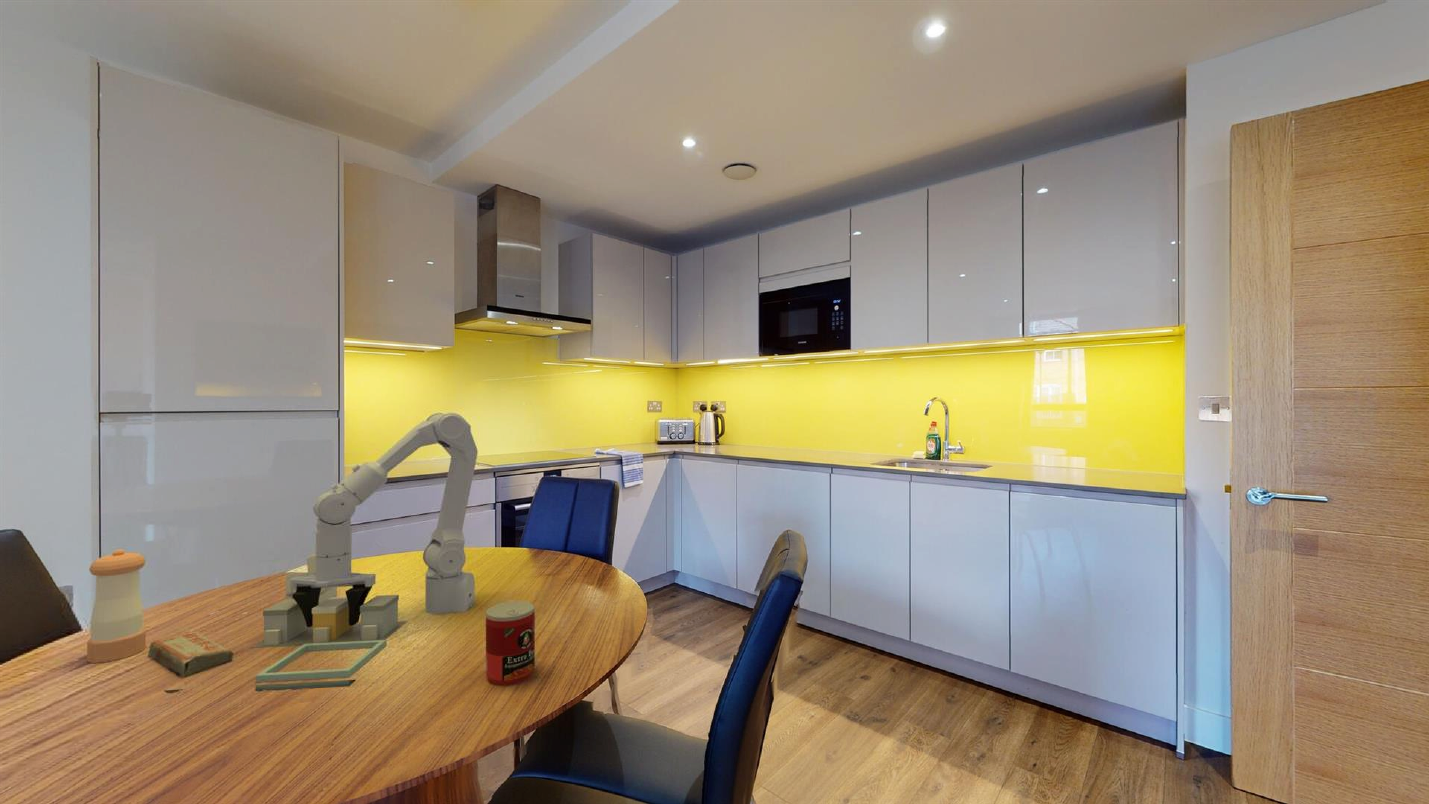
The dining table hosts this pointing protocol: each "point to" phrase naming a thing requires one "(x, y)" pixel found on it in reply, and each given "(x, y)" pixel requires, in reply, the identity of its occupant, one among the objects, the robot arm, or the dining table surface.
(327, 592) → the ink cartridge box
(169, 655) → the packaged product
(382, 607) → the block
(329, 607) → the block
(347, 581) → the robot arm
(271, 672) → the parts tray
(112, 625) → the pepper shaker
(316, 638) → the block
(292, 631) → the block
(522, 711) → the dining table surface
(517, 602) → the canned food
